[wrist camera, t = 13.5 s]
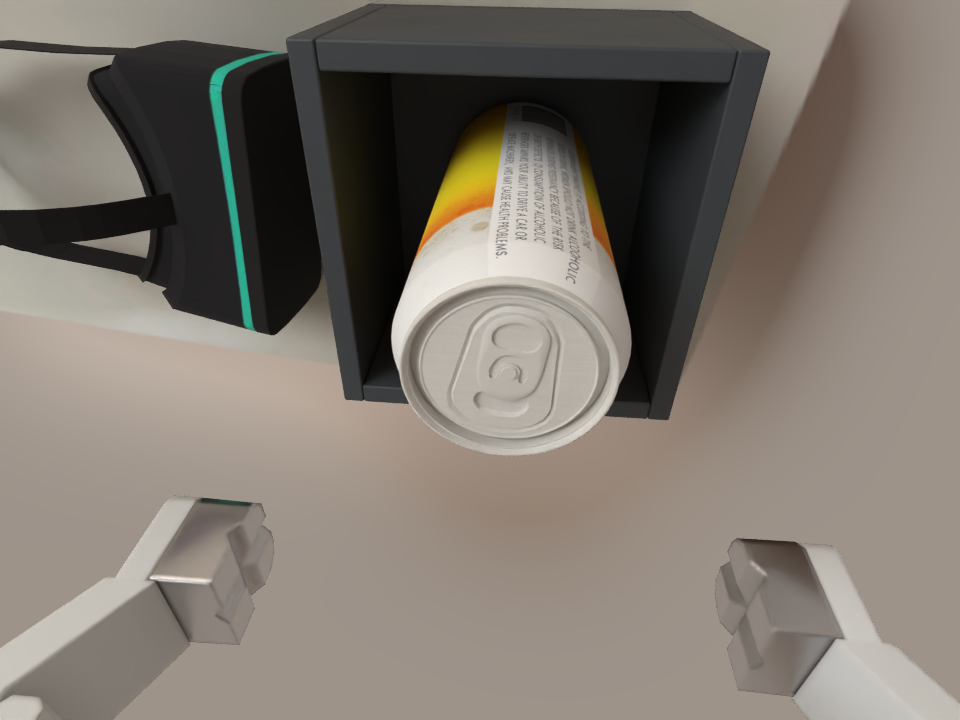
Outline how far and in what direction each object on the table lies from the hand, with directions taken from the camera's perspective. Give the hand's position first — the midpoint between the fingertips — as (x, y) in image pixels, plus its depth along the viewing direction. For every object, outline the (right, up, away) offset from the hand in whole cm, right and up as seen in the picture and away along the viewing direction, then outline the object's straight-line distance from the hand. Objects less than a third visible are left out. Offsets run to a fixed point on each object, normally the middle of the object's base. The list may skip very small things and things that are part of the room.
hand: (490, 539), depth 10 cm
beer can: (+2, +12, +16) cm, 20 cm away
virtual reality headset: (-16, +13, +17) cm, 27 cm away
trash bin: (+2, +12, +16) cm, 20 cm away
